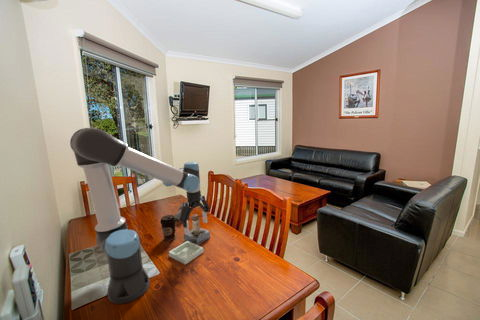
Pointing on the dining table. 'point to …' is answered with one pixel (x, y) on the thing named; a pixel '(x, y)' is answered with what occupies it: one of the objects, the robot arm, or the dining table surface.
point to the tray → (186, 252)
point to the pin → (196, 224)
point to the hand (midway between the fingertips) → (196, 227)
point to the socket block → (199, 238)
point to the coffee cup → (168, 227)
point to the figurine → (179, 213)
